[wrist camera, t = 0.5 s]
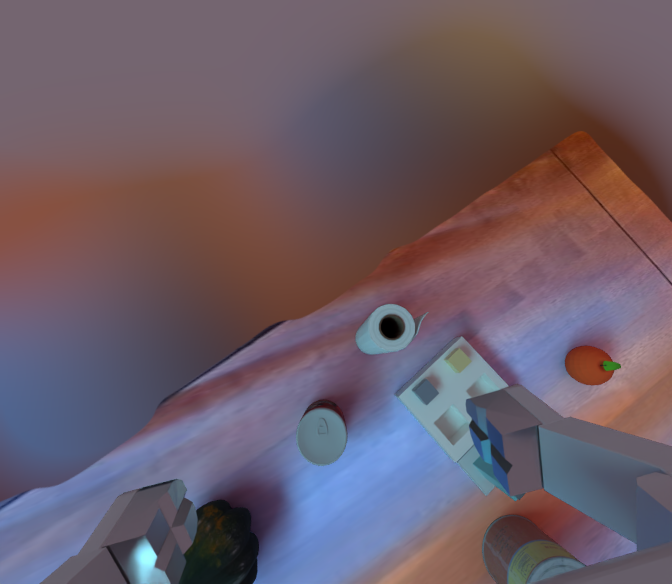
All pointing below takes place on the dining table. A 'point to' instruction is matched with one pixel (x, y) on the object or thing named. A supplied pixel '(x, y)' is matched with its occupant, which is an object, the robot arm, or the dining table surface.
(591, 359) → the clementine
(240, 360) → the dining table surface
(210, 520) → the squash
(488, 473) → the plug
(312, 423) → the canned food
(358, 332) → the paper towel roll
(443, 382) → the block
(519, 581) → the canned food
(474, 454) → the mat
